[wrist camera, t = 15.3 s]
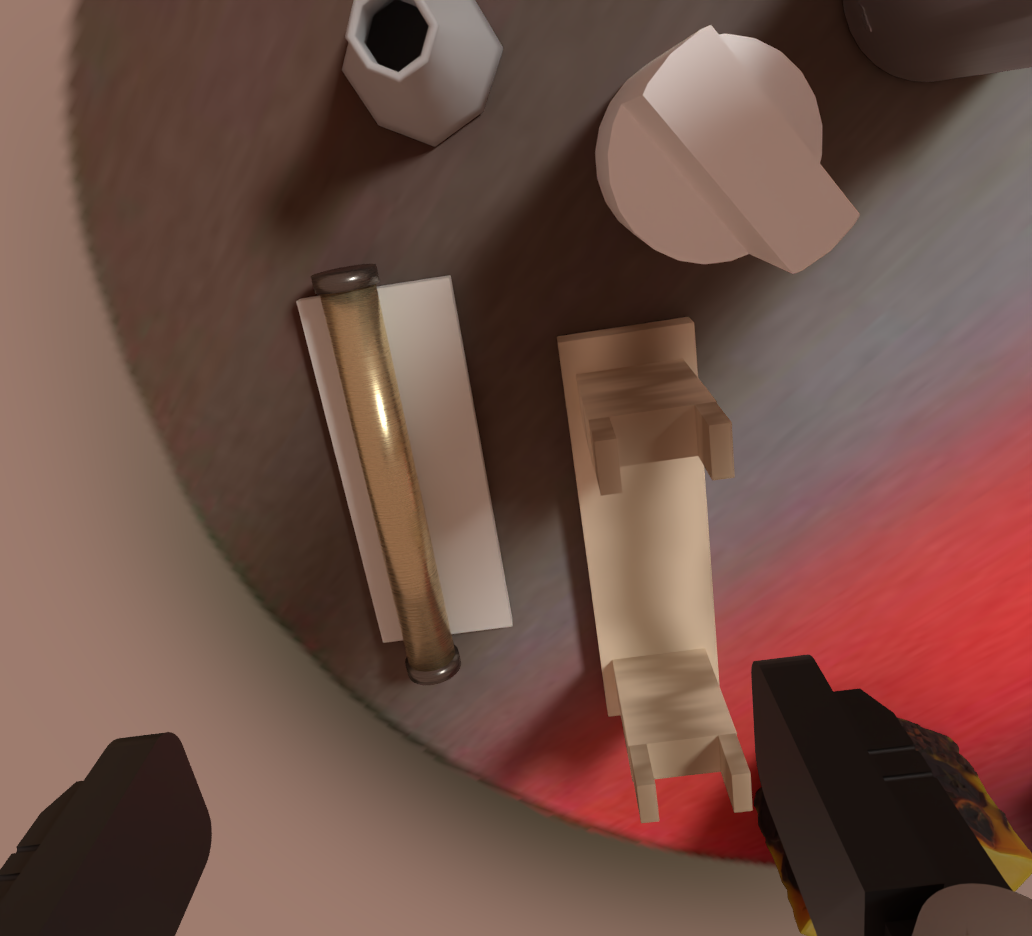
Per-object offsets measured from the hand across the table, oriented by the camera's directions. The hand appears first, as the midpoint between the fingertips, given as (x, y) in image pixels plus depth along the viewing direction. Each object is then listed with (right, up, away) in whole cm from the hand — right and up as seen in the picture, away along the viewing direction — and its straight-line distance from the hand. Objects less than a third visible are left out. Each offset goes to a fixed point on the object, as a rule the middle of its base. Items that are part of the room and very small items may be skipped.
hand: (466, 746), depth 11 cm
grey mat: (-5, +4, +34) cm, 35 cm away
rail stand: (+8, 0, +36) cm, 36 cm away
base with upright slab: (+9, +19, +28) cm, 35 cm away
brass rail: (-5, +3, +33) cm, 34 cm away
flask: (-4, +23, +27) cm, 36 cm away
